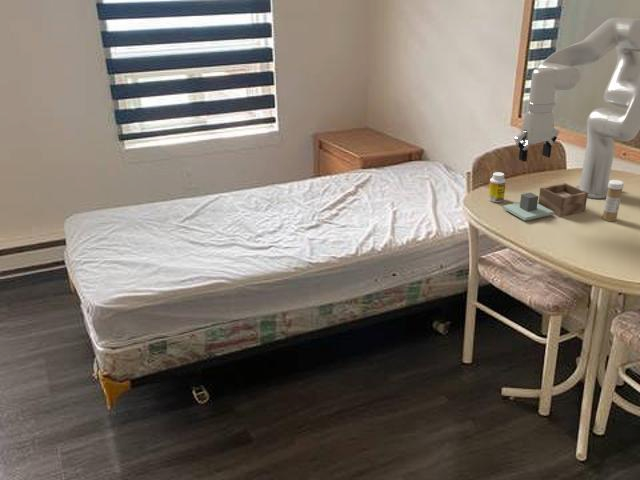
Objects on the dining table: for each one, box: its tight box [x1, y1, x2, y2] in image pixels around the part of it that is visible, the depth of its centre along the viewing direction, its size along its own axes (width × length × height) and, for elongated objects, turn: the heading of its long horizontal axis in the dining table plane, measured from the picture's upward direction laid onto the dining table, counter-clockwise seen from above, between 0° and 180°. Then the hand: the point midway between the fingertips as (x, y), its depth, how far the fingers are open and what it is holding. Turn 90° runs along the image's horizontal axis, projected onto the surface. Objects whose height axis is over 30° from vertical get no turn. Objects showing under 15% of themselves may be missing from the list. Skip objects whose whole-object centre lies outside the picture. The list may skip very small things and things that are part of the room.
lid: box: [502, 192, 554, 221], centre depth 205 cm, size 12×12×7 cm
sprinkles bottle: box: [601, 179, 625, 222], centre depth 197 cm, size 5×5×13 cm
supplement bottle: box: [488, 171, 507, 203], centre depth 216 cm, size 6×6×10 cm
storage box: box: [538, 182, 588, 218], centre depth 208 cm, size 11×11×7 cm
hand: (534, 158), depth 198 cm, fingers open, 9 cm apart
